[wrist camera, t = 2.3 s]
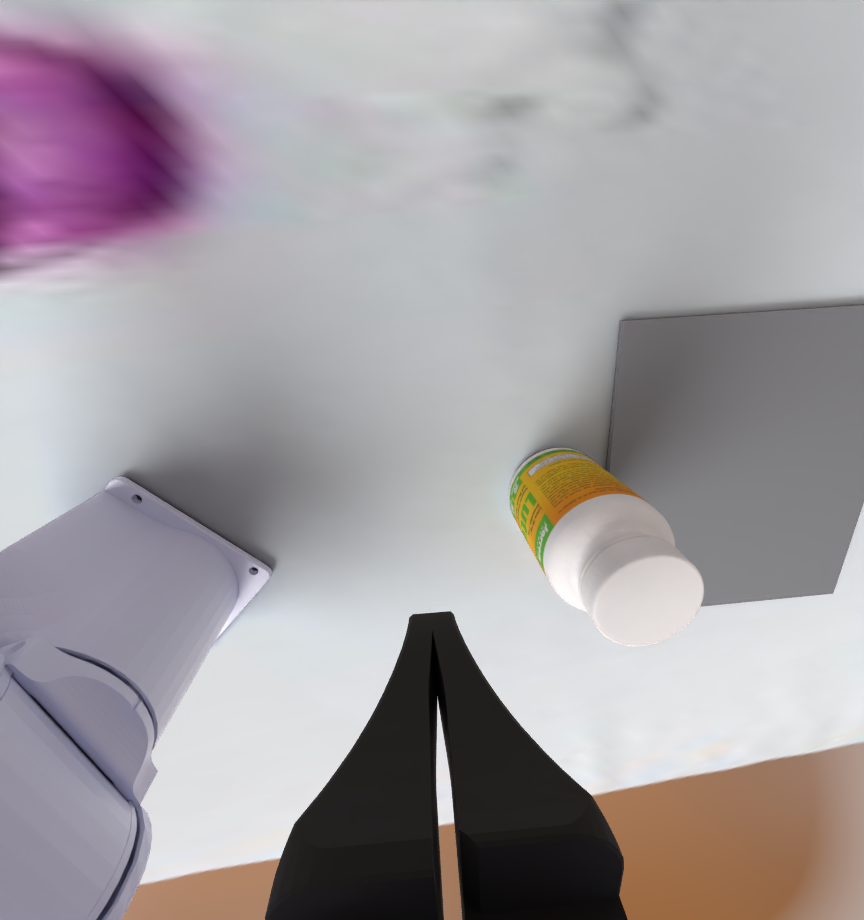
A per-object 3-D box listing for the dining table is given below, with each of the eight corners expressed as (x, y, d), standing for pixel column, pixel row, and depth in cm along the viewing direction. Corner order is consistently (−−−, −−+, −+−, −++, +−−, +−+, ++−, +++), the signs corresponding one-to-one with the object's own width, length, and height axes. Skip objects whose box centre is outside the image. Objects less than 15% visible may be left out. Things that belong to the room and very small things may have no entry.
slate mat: (592, 612, 26) (595, 616, 26) (620, 320, 20) (624, 321, 20) (827, 589, 27) (833, 593, 27) (921, 300, 21) (931, 300, 21)
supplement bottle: (495, 463, 22) (559, 565, 13) (589, 432, 22) (719, 514, 13) (519, 543, 24) (589, 680, 15) (606, 514, 24) (730, 637, 15)
